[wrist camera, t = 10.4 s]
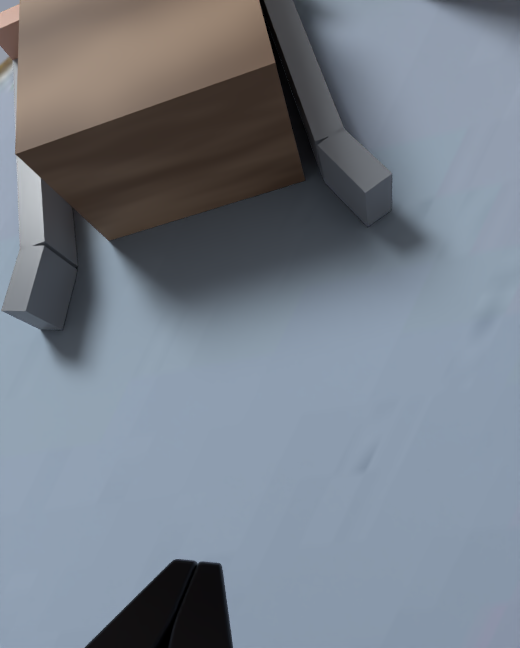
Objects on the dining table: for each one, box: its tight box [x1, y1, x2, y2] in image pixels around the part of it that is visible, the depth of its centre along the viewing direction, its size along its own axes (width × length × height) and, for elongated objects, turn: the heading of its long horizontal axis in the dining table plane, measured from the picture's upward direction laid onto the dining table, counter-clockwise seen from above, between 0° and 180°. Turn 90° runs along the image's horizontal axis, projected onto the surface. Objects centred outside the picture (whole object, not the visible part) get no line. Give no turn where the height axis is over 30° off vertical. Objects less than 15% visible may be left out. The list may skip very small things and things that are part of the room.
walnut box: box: [15, 0, 305, 241], centre depth 26 cm, size 14×12×8 cm
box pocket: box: [0, 0, 392, 330], centre depth 27 cm, size 20×20×5 cm
